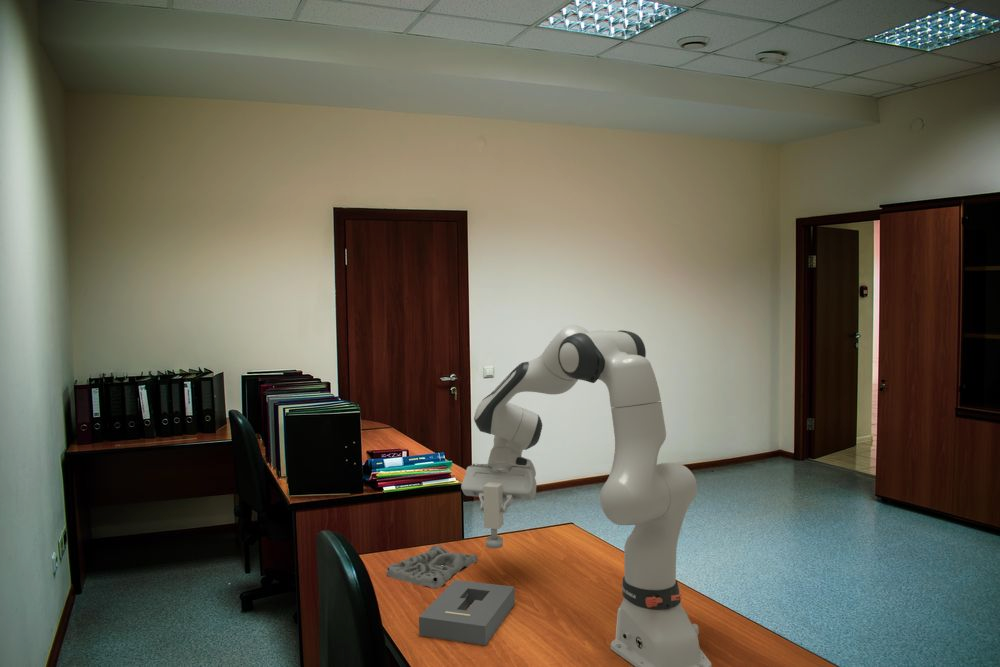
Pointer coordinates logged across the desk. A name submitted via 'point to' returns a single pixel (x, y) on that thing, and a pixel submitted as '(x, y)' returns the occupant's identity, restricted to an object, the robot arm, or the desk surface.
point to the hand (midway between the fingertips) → (492, 510)
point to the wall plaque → (430, 567)
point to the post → (493, 512)
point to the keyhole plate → (467, 612)
